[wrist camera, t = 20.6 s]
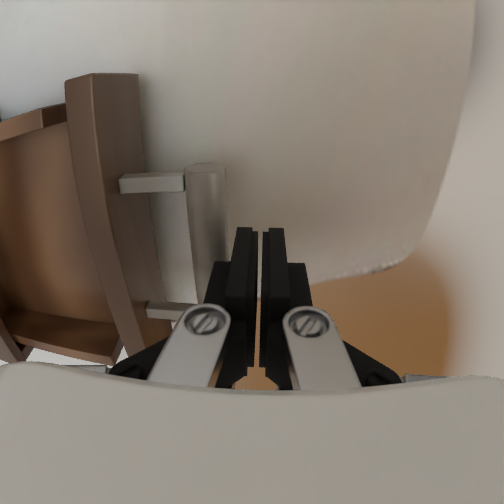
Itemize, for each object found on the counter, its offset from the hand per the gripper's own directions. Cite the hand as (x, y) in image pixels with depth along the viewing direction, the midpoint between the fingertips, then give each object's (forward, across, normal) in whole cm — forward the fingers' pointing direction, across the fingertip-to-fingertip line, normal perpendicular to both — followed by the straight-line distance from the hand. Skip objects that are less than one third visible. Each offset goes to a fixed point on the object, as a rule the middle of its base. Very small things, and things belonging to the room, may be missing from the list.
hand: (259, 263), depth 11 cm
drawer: (+3, +10, 0) cm, 10 cm away
